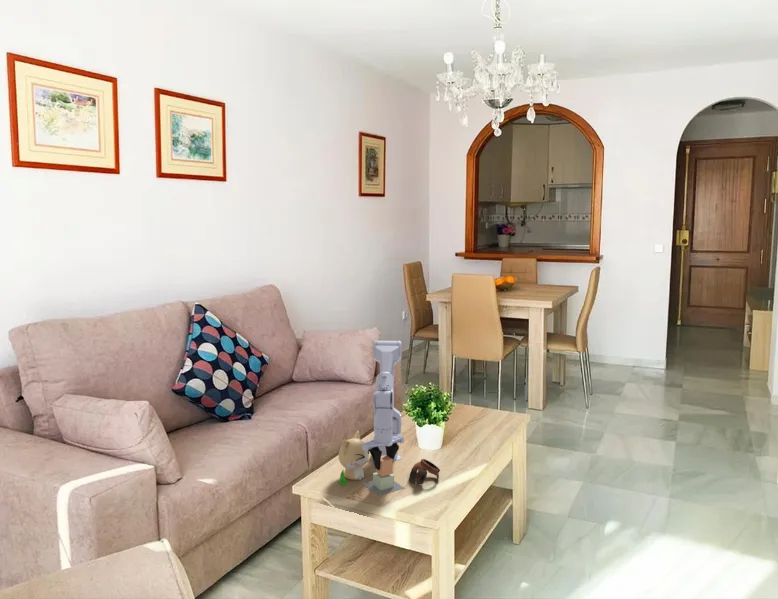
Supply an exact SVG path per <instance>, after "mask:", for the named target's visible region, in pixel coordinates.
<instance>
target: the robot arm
mask: <svg viewBox="0 0 778 599" xmlns="http://www.w3.org/2000/svg"><path fill="white" fill-rule="evenodd" d="M372 344H373V346H372V354H373V358H374V360H375V362H376V363H379V369H380V370H379V372H380V373H378V374H377V375H376V378H375V379H376V380H375V390H374V392H373V394H372V406H373V414H374V416H373V417H374V419H373V433H374V436H373V438H372V439H371V440H369V441H367V442H364V443H363V444H362V449H363V450H365V451H368V450H369V455H370V456H371V458H372V461H373V464H374V468H375V470H376V469H377V470H380V460H381V456H384V455H387V456H389V457H390V458H392V459H393V462H395V461H399V460H402V459H403V457H402V456H400V455H399V454H398V453H399V449H400V445H399V443H400V444H403V443H404V442H405V437H404V436H403V435H401V433H402V422H403V421H402V414H401V411H399V410H398V409H397V408H395V405H394V404H395V366H396V364H398V363H400V362H401V360H402V349H403V348H402V345H403V344H402V341H401V340H377V339H375V340H374V341H373V343H372Z"/></svg>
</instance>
